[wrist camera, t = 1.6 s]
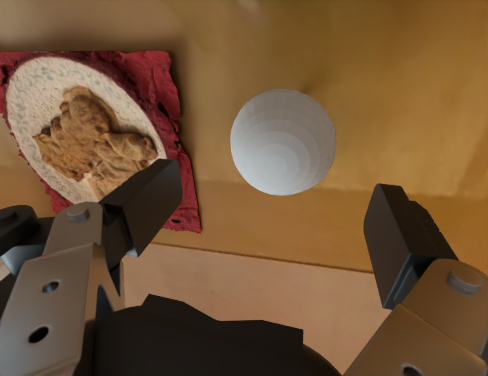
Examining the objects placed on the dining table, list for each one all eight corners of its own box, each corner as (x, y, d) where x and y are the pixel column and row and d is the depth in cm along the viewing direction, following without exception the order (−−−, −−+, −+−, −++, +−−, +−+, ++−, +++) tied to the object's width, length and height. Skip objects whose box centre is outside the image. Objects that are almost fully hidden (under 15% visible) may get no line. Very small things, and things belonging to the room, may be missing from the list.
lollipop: (337, 112, 24) (361, 196, 12) (282, 138, 27) (255, 230, 14) (310, 49, 22) (304, 72, 10) (253, 85, 25) (192, 139, 12)
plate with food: (-18, 50, 30) (-53, 53, 27) (174, 49, 24) (154, 53, 21) (63, 208, 43) (45, 221, 40) (201, 232, 37) (191, 249, 34)
